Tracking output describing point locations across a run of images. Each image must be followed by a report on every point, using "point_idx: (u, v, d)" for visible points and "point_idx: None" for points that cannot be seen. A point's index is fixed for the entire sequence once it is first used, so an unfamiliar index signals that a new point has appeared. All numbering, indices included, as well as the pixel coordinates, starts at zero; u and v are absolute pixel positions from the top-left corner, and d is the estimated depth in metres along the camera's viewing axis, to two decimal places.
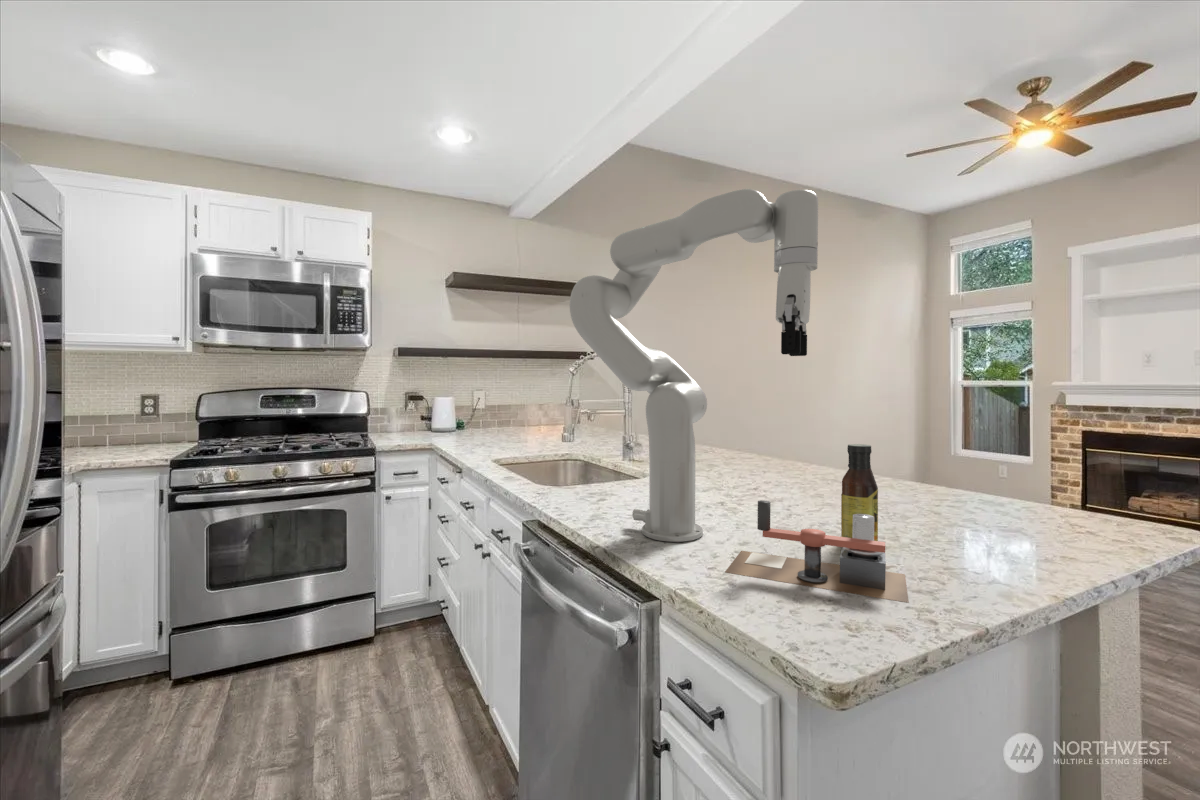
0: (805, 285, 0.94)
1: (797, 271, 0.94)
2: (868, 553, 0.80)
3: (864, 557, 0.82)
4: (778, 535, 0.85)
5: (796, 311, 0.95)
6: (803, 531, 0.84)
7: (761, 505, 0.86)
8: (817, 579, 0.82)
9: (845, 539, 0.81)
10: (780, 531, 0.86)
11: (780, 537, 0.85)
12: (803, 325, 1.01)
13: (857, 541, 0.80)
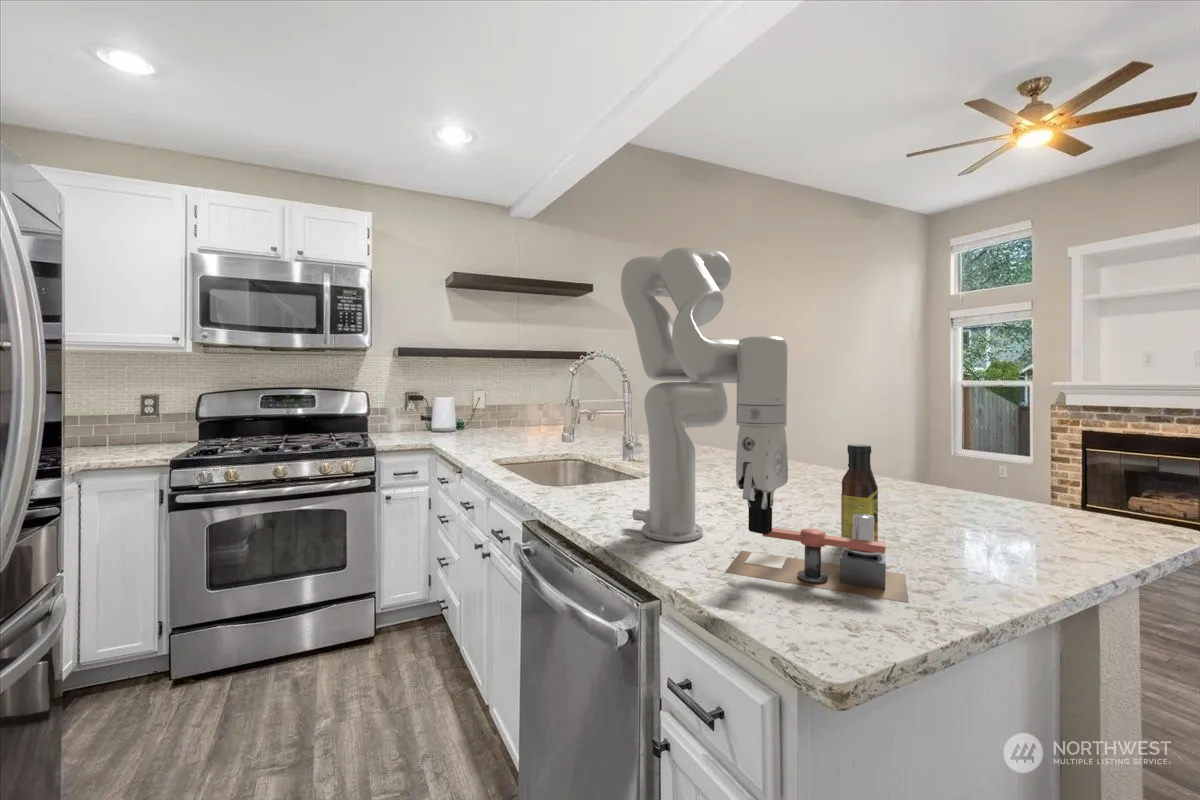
0: None
1: None
2: (868, 553, 0.80)
3: (864, 557, 0.82)
4: (778, 535, 0.85)
5: None
6: (803, 531, 0.84)
7: None
8: (817, 579, 0.82)
9: (845, 539, 0.81)
10: (780, 531, 0.86)
11: (780, 537, 0.85)
12: None
13: (857, 541, 0.80)
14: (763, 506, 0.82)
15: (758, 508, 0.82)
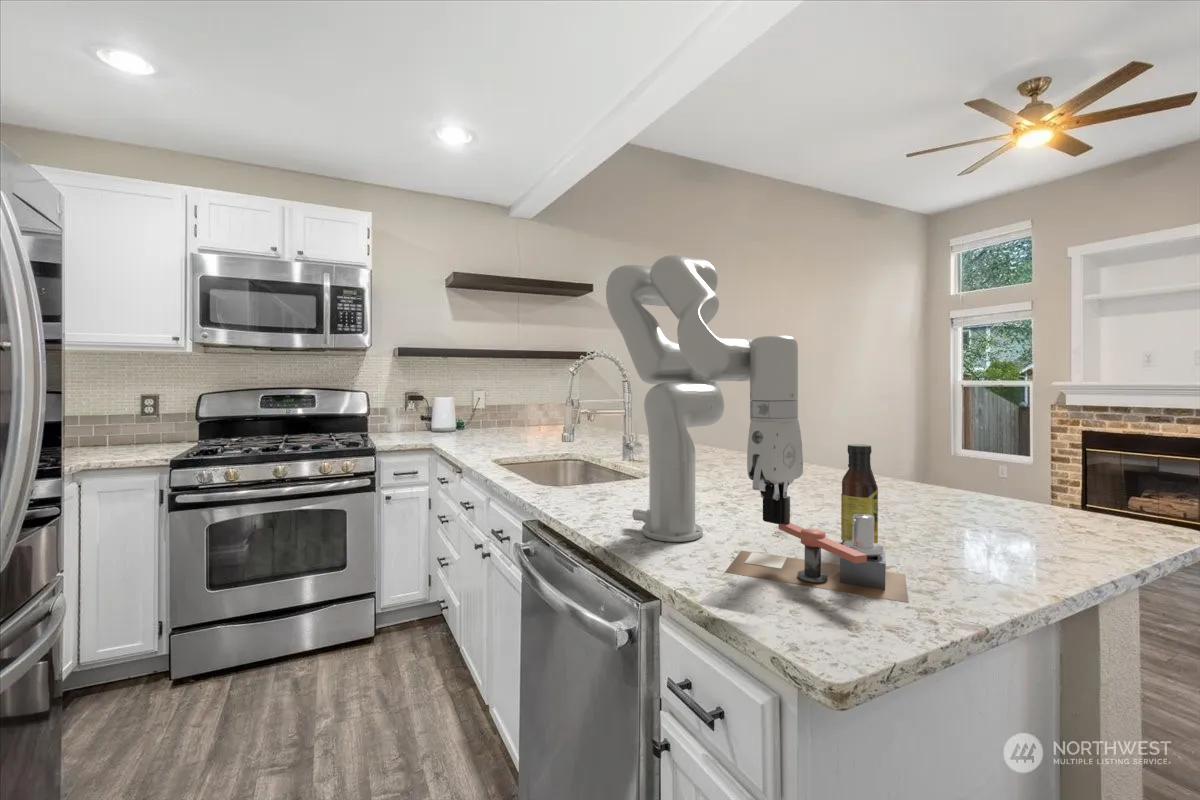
0: None
1: None
2: (868, 553, 0.80)
3: None
4: (787, 529, 0.88)
5: None
6: (805, 529, 0.85)
7: None
8: (817, 579, 0.82)
9: (832, 544, 0.79)
10: (792, 526, 0.88)
11: (789, 532, 0.88)
12: None
13: (839, 547, 0.77)
14: (774, 497, 0.86)
15: (770, 499, 0.87)
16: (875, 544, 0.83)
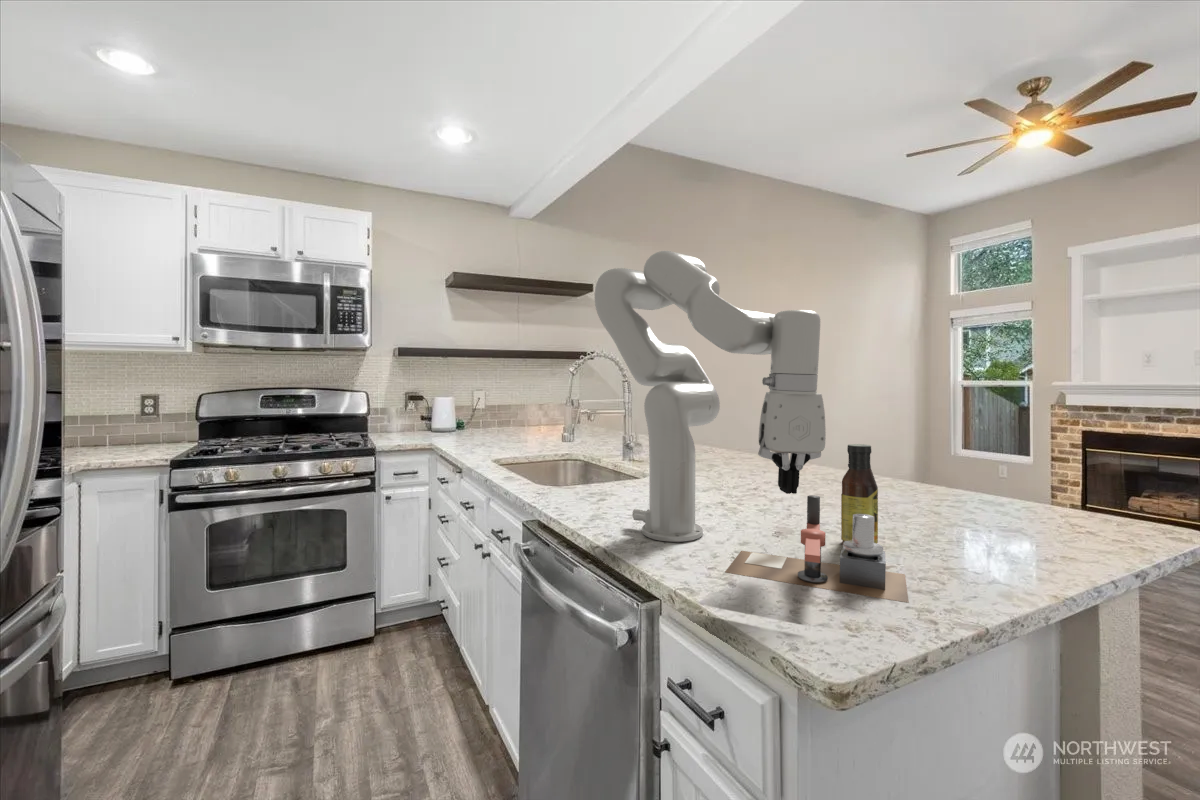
0: None
1: None
2: (868, 553, 0.80)
3: (864, 557, 0.82)
4: None
5: None
6: (810, 529, 0.85)
7: None
8: (817, 579, 0.82)
9: (811, 543, 0.79)
10: (811, 526, 0.88)
11: None
12: None
13: (809, 546, 0.78)
14: (782, 466, 0.89)
15: (781, 468, 0.90)
16: (875, 544, 0.83)
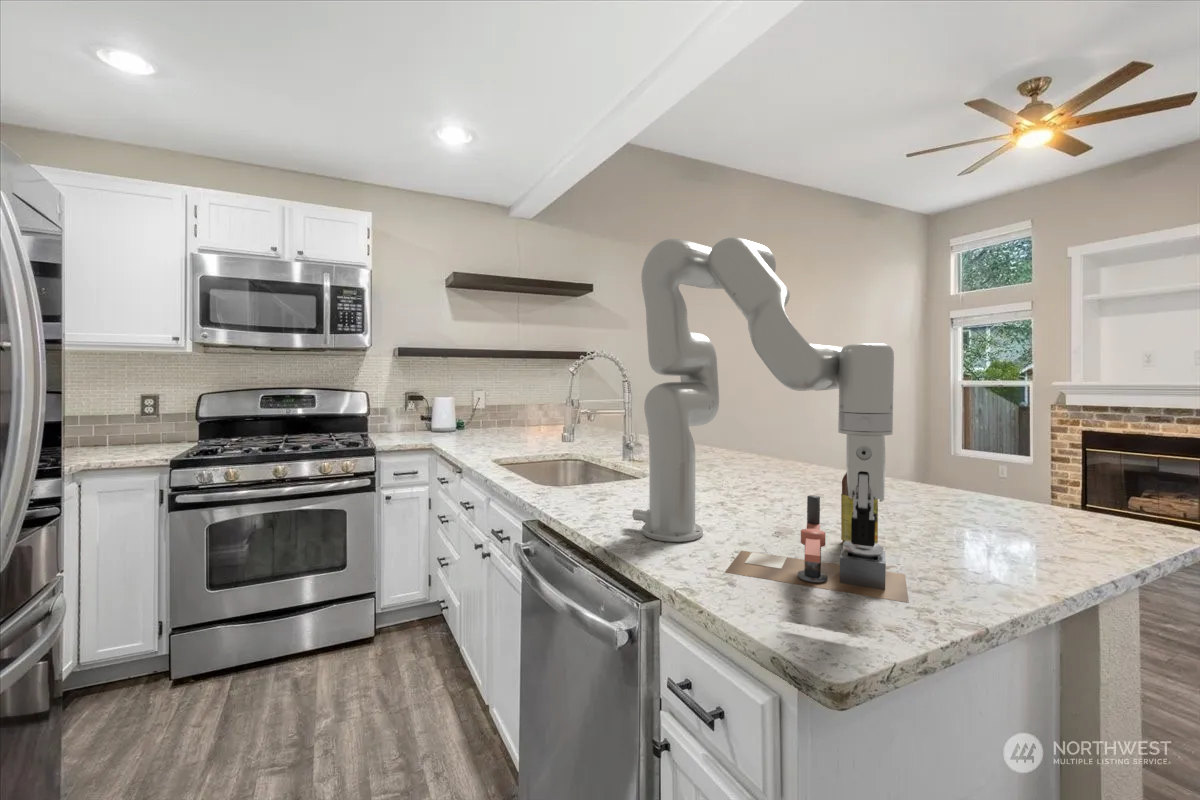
0: None
1: None
2: (868, 553, 0.80)
3: (864, 557, 0.82)
4: None
5: None
6: (810, 529, 0.85)
7: None
8: (817, 579, 0.82)
9: (811, 543, 0.79)
10: (811, 526, 0.88)
11: None
12: None
13: (809, 546, 0.78)
14: (872, 517, 0.79)
15: (865, 520, 0.80)
16: (875, 544, 0.83)
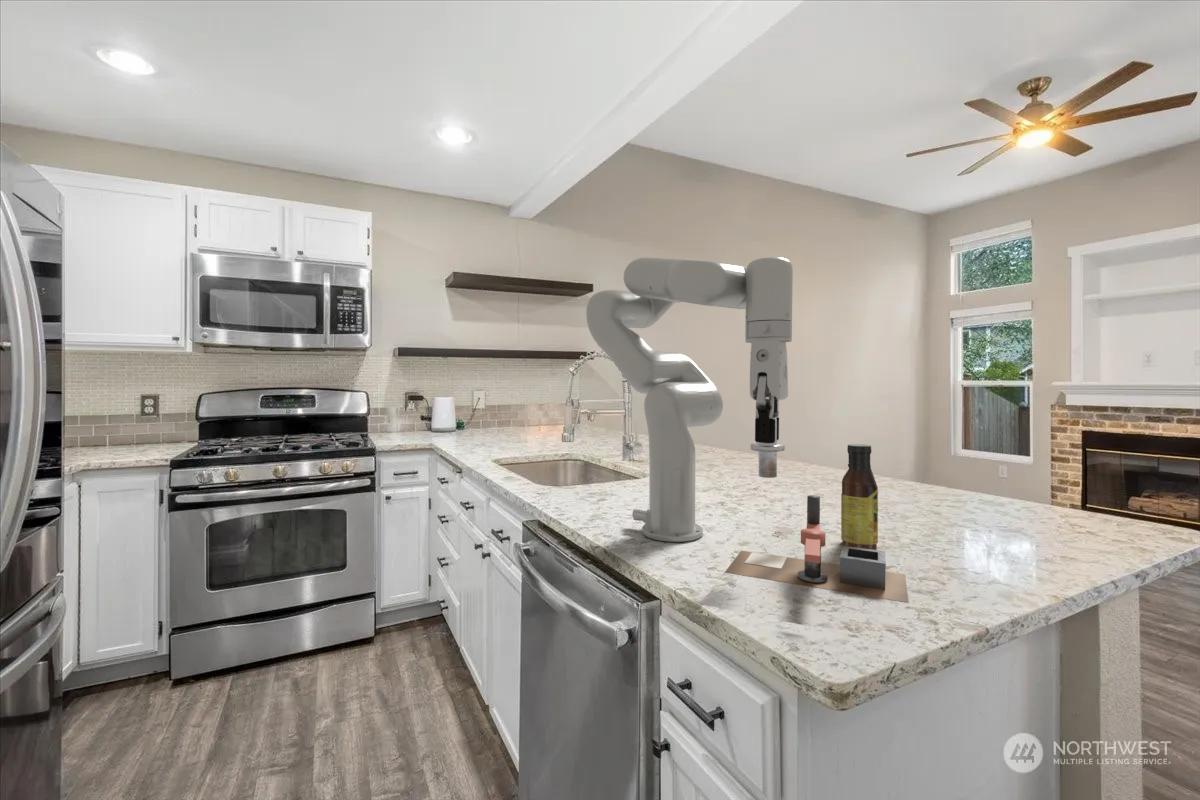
0: None
1: None
2: (769, 448, 0.88)
3: (767, 454, 0.90)
4: None
5: None
6: (810, 529, 0.85)
7: None
8: (817, 579, 0.82)
9: (811, 543, 0.79)
10: (811, 526, 0.88)
11: None
12: None
13: (809, 546, 0.78)
14: (771, 415, 0.88)
15: (766, 418, 0.88)
16: (779, 444, 0.91)
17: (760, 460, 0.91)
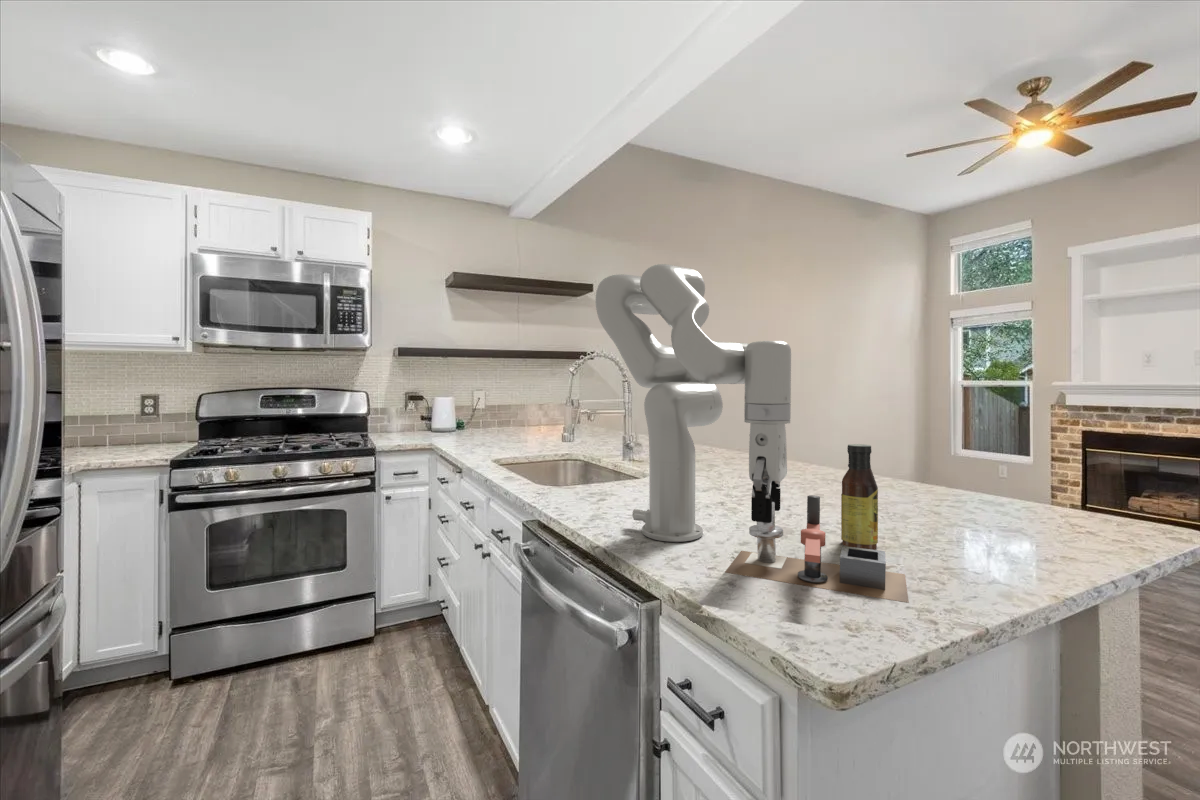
0: None
1: None
2: (767, 535, 0.89)
3: (766, 539, 0.90)
4: None
5: (766, 466, 0.94)
6: (810, 529, 0.85)
7: None
8: (817, 579, 0.82)
9: (811, 543, 0.79)
10: (811, 526, 0.88)
11: None
12: None
13: (809, 546, 0.78)
14: (768, 493, 0.86)
15: (762, 498, 0.86)
16: (777, 527, 0.92)
17: (759, 545, 0.91)
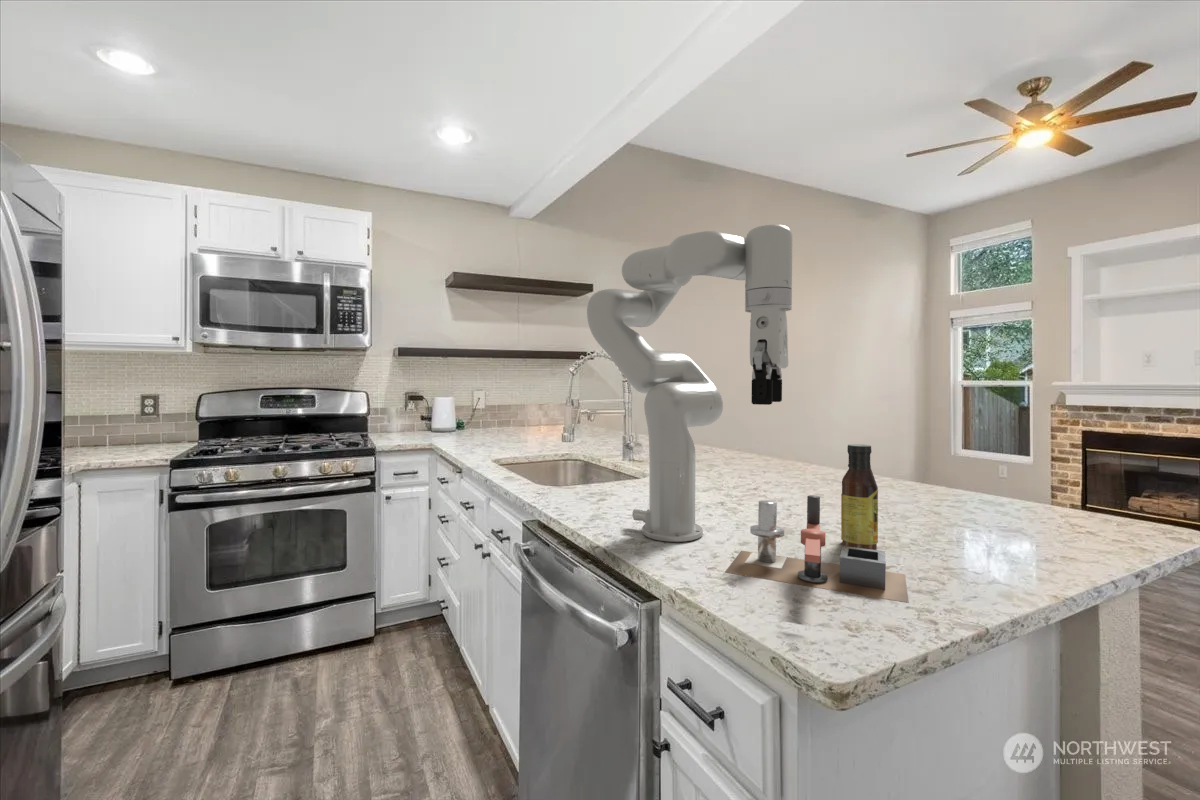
0: None
1: None
2: (768, 534, 0.89)
3: (766, 539, 0.90)
4: None
5: None
6: (810, 529, 0.85)
7: None
8: (817, 579, 0.82)
9: (811, 543, 0.79)
10: (811, 526, 0.88)
11: None
12: None
13: (809, 546, 0.78)
14: (768, 373, 0.85)
15: (763, 379, 0.85)
16: (779, 528, 0.92)
17: (759, 544, 0.91)
